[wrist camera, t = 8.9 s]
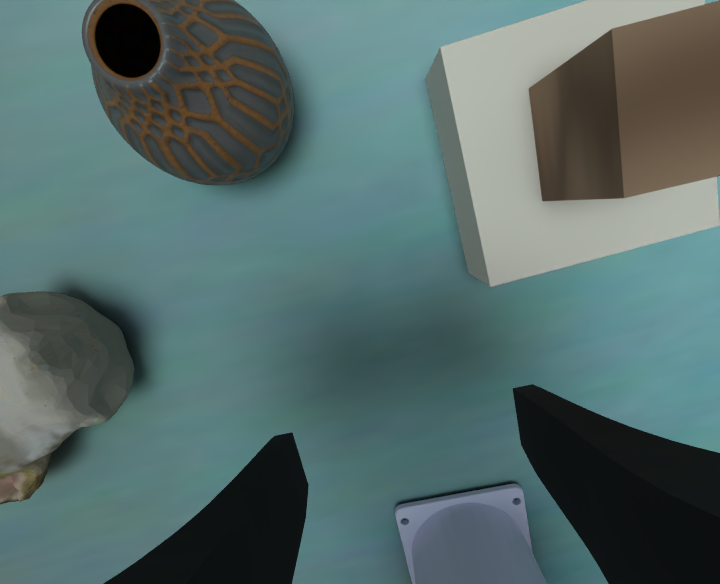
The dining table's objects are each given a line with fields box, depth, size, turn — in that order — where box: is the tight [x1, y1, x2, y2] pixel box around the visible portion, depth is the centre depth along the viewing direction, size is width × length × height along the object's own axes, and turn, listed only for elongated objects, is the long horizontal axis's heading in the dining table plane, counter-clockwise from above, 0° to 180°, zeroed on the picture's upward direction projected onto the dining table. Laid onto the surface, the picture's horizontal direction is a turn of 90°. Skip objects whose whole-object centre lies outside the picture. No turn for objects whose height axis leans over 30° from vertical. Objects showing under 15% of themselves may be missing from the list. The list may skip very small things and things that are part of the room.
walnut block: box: [529, 1, 720, 201], centre depth 13 cm, size 4×4×5 cm
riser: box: [426, 0, 720, 287], centre depth 17 cm, size 10×10×4 cm
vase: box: [82, 0, 294, 185], centre depth 14 cm, size 7×7×9 cm
